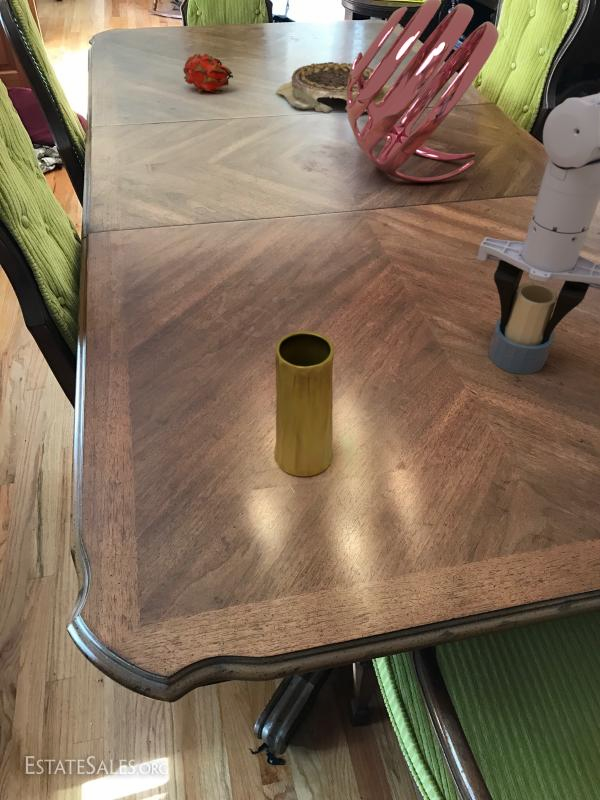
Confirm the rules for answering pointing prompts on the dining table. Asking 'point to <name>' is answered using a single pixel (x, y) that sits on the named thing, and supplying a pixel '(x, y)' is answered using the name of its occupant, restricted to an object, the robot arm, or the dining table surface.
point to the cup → (530, 314)
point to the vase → (304, 403)
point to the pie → (322, 85)
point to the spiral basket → (416, 86)
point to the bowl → (517, 352)
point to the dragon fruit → (206, 73)
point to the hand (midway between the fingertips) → (526, 326)
